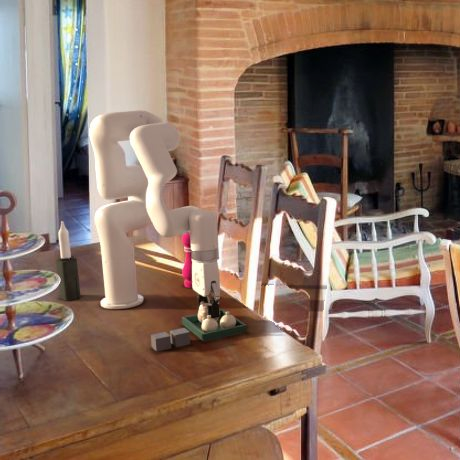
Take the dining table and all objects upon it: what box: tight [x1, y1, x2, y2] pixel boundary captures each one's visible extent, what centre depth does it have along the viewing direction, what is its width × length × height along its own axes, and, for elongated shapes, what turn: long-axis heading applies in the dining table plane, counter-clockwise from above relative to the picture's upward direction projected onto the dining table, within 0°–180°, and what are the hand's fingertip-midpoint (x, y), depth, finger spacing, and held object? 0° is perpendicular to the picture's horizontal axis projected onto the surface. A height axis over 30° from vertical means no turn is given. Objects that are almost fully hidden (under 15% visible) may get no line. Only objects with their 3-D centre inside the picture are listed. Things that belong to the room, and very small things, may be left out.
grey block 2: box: [169, 327, 191, 348], centre depth 215 cm, size 4×4×4 cm
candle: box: [55, 220, 81, 302], centre depth 251 cm, size 5×5×25 cm
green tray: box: [181, 308, 248, 342], centre depth 227 cm, size 17×13×3 cm
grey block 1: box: [150, 331, 172, 352], centre depth 212 cm, size 4×4×4 cm
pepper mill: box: [181, 233, 193, 289], centre depth 265 cm, size 7×7×20 cm
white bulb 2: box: [220, 310, 236, 329], centre depth 225 cm, size 4×4×5 cm
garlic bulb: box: [197, 301, 220, 323], centre depth 229 cm, size 7×6×8 cm
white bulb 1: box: [202, 315, 218, 333], centre depth 222 cm, size 4×4×5 cm
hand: (208, 313), depth 229 cm, fingers closed on garlic bulb, 6 cm apart
